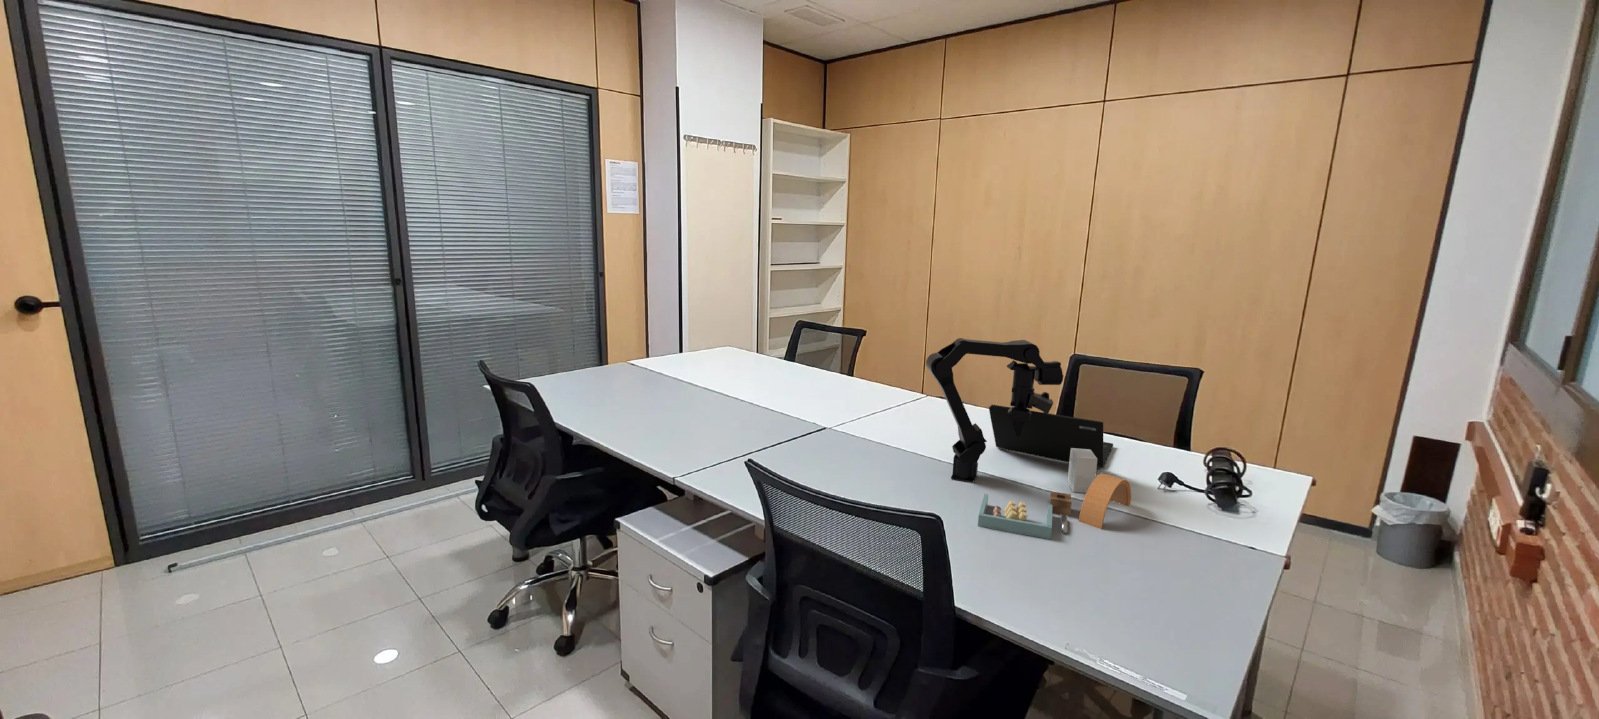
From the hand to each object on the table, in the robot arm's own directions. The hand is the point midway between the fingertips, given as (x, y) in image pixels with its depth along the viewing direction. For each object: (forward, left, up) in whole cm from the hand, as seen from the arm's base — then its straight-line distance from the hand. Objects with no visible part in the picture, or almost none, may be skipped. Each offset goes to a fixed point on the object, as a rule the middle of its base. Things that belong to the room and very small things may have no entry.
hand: (1018, 435), depth 186 cm
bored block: (+13, -18, -13) cm, 26 cm away
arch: (+24, -15, -13) cm, 31 cm away
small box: (+18, 0, -13) cm, 22 cm away
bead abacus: (+1, -31, -13) cm, 34 cm away
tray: (+2, -29, -13) cm, 32 cm away
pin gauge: (+14, -28, -13) cm, 34 cm away
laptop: (+10, +25, -14) cm, 30 cm away
